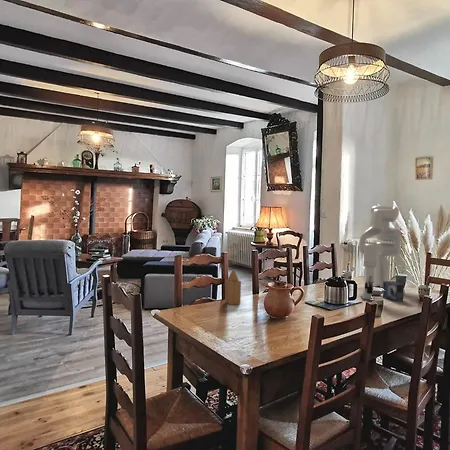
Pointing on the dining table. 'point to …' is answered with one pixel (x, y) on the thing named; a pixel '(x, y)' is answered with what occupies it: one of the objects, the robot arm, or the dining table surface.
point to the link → (365, 295)
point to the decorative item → (232, 289)
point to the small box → (393, 291)
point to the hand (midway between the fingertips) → (368, 291)
